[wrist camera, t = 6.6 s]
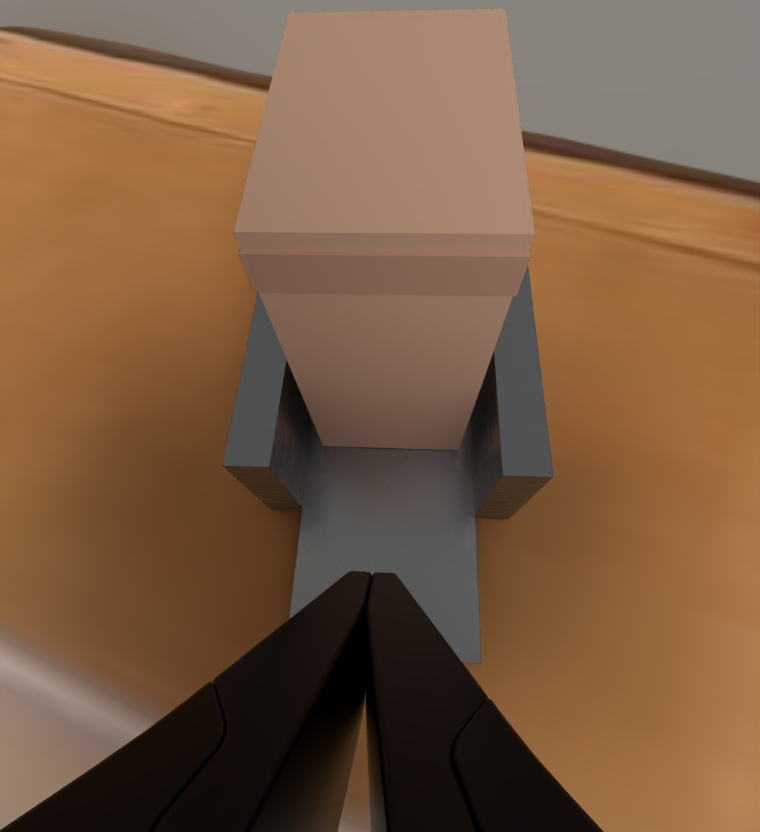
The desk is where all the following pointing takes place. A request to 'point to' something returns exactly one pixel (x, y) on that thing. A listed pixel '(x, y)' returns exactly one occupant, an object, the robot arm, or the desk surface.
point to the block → (389, 217)
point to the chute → (395, 478)
